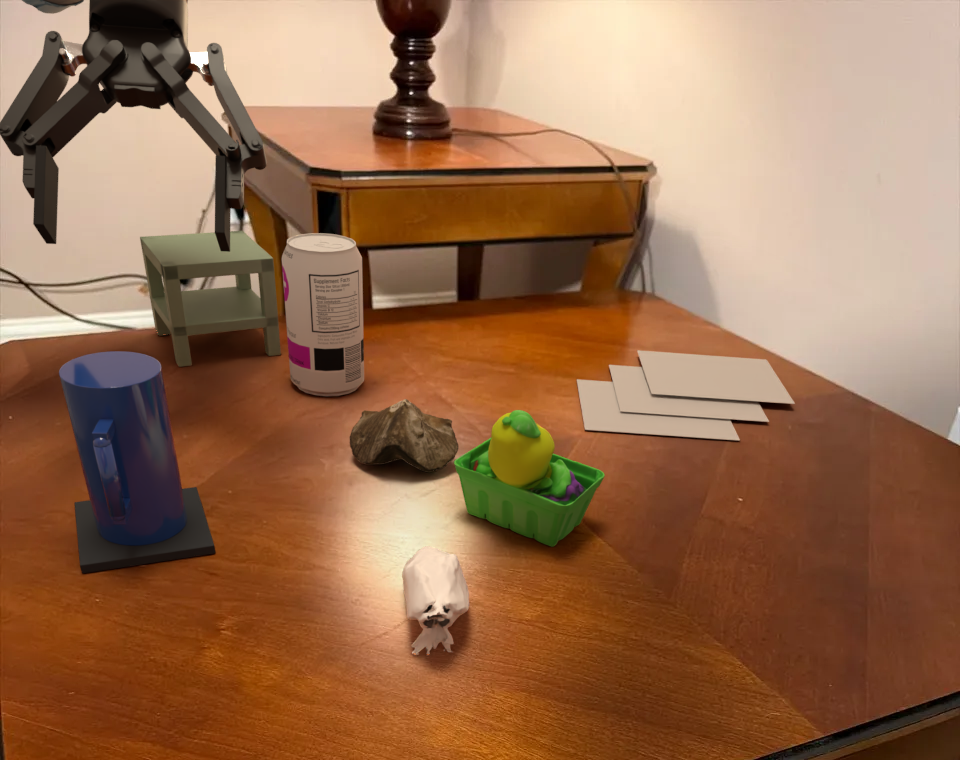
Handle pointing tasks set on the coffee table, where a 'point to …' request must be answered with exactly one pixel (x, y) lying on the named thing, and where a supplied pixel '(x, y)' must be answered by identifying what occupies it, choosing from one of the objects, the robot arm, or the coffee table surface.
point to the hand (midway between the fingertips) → (134, 238)
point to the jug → (125, 445)
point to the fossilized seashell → (404, 437)
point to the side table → (209, 306)
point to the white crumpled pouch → (434, 595)
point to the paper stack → (681, 395)
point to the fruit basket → (526, 481)
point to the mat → (111, 555)
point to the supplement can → (324, 313)
